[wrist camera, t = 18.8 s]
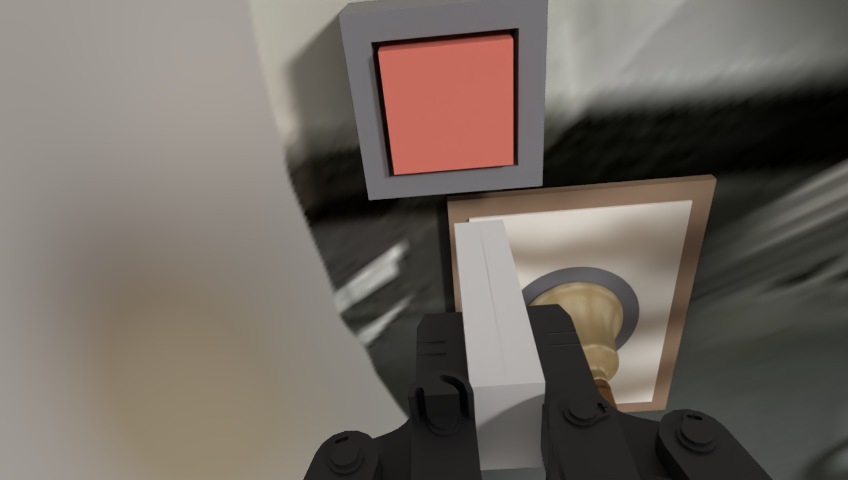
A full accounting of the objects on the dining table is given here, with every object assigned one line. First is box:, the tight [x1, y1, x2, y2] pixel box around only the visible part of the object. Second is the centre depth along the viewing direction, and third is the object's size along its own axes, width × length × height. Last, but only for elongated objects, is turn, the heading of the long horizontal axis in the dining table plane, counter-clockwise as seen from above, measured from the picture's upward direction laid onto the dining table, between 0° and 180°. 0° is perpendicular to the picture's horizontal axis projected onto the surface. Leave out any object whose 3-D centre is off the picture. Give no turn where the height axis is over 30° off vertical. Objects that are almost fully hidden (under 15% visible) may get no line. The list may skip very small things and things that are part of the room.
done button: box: [378, 29, 513, 175], centre depth 31 cm, size 7×7×3 cm
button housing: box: [338, 0, 548, 200], centre depth 32 cm, size 11×11×4 cm
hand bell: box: [529, 282, 623, 410], centre depth 36 cm, size 8×8×16 cm
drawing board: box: [447, 175, 717, 412], centre depth 43 cm, size 24×19×1 cm
